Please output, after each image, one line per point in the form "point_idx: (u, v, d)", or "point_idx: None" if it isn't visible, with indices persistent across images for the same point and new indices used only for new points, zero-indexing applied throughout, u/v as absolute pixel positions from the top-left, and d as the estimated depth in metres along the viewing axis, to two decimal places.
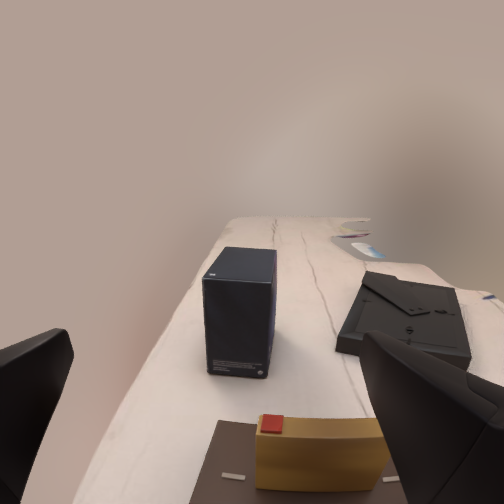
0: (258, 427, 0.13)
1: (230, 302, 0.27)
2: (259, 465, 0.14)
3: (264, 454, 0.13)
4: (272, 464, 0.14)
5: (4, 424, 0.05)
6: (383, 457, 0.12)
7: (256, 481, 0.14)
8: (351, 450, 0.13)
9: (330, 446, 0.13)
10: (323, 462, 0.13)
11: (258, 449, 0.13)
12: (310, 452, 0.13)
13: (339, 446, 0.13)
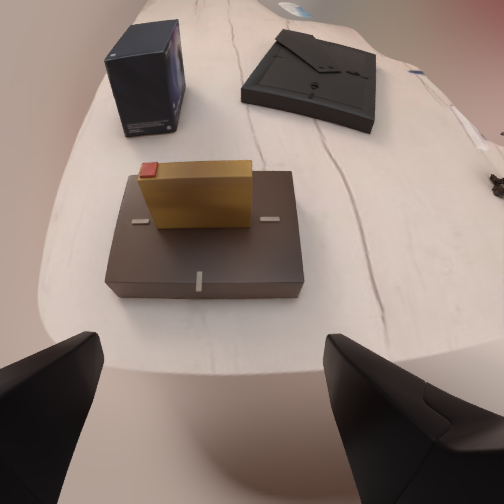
0: (139, 174, 0.18)
1: (131, 73, 0.25)
2: (150, 206, 0.20)
3: (149, 196, 0.19)
4: (159, 204, 0.20)
5: (37, 436, 0.05)
6: (245, 196, 0.20)
7: (154, 222, 0.22)
8: (214, 188, 0.19)
9: (195, 184, 0.19)
10: (196, 199, 0.20)
11: (143, 192, 0.19)
12: (182, 190, 0.19)
13: (202, 185, 0.19)
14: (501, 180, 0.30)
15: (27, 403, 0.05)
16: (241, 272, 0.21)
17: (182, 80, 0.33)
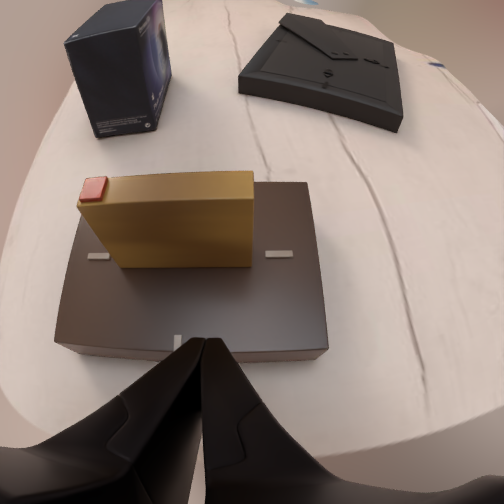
0: (80, 196, 0.11)
1: (96, 57, 0.18)
2: (104, 241, 0.13)
3: (99, 228, 0.12)
4: (115, 238, 0.13)
5: (175, 464, 0.05)
6: (243, 227, 0.13)
7: (114, 260, 0.15)
8: (193, 216, 0.12)
9: (163, 211, 0.12)
10: (167, 231, 0.13)
11: (90, 223, 0.12)
12: (144, 220, 0.12)
13: (174, 211, 0.12)
14: None
15: (171, 429, 0.05)
16: (238, 336, 0.14)
17: (166, 67, 0.26)
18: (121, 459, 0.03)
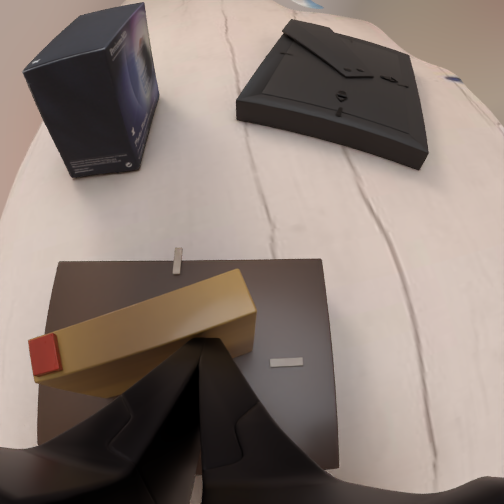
0: None
1: (61, 88, 0.15)
2: (81, 391, 0.09)
3: (71, 387, 0.08)
4: (93, 387, 0.09)
5: (177, 464, 0.05)
6: (244, 333, 0.10)
7: (98, 396, 0.11)
8: None
9: (144, 357, 0.08)
10: (154, 366, 0.09)
11: (58, 387, 0.08)
12: (123, 369, 0.09)
13: (158, 353, 0.08)
14: None
15: (174, 430, 0.05)
16: None
17: (151, 89, 0.23)
18: (124, 459, 0.03)
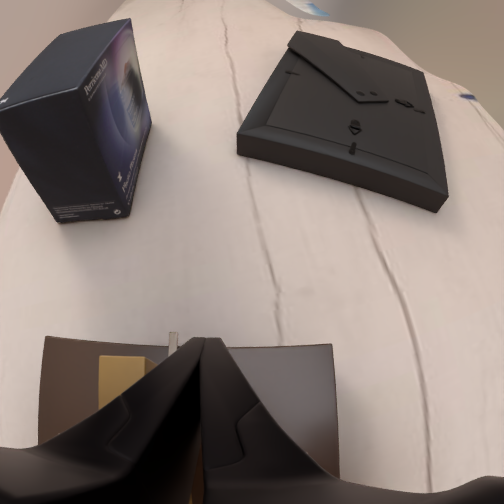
0: None
1: (33, 133, 0.13)
2: None
3: None
4: None
5: (176, 464, 0.05)
6: None
7: None
8: None
9: None
10: None
11: None
12: None
13: None
14: None
15: (173, 430, 0.05)
16: None
17: (141, 120, 0.21)
18: (123, 459, 0.03)
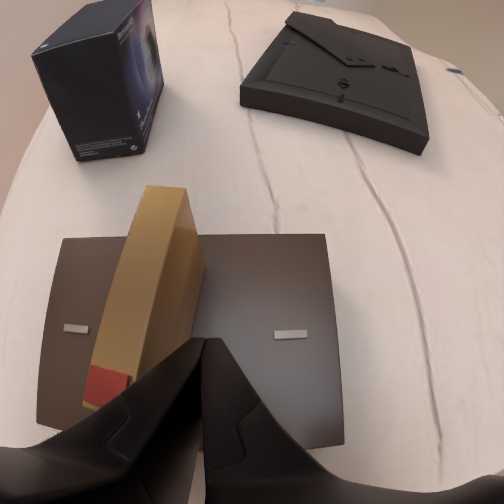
0: None
1: (69, 71, 0.15)
2: None
3: None
4: None
5: (175, 464, 0.05)
6: (191, 229, 0.11)
7: None
8: (174, 267, 0.10)
9: (163, 297, 0.09)
10: (172, 315, 0.10)
11: None
12: (160, 332, 0.09)
13: (166, 284, 0.09)
14: None
15: (171, 429, 0.05)
16: None
17: (156, 76, 0.23)
18: (121, 459, 0.03)
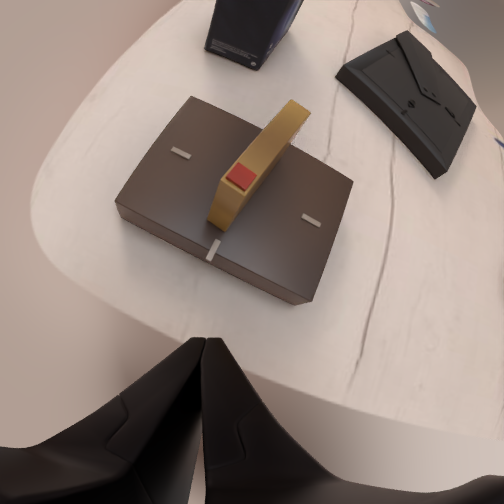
0: (237, 189, 0.14)
1: None
2: (235, 214, 0.17)
3: (242, 203, 0.16)
4: (243, 203, 0.17)
5: (175, 464, 0.05)
6: None
7: (228, 227, 0.19)
8: (286, 144, 0.17)
9: (279, 154, 0.16)
10: (270, 167, 0.17)
11: (241, 204, 0.15)
12: (267, 169, 0.16)
13: (282, 149, 0.16)
14: None
15: (171, 429, 0.05)
16: (258, 261, 0.20)
17: (290, 24, 0.27)
18: (121, 459, 0.03)
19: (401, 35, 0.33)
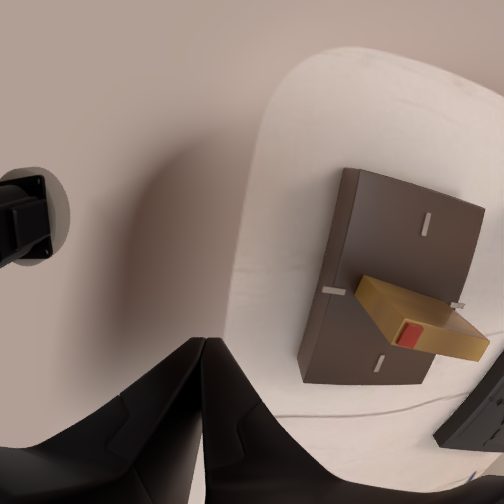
0: (396, 336, 0.13)
1: None
2: None
3: None
4: None
5: (175, 464, 0.05)
6: None
7: None
8: None
9: None
10: None
11: None
12: None
13: None
14: None
15: (171, 429, 0.05)
16: (331, 332, 0.19)
17: None
18: (121, 459, 0.03)
19: None
